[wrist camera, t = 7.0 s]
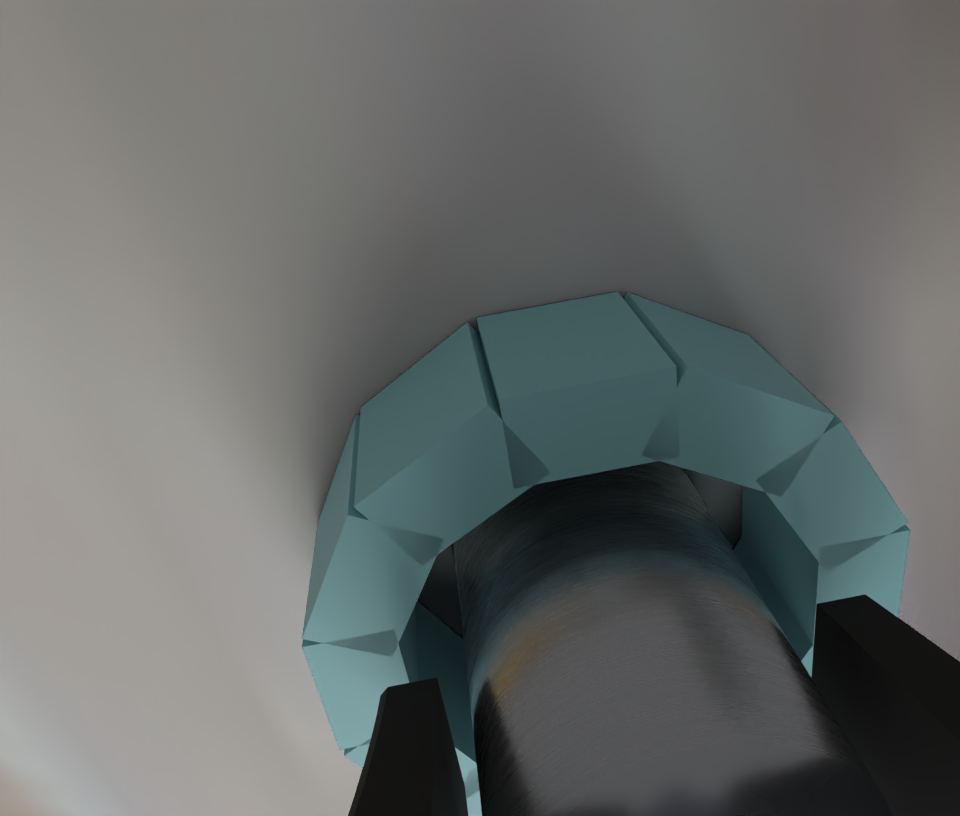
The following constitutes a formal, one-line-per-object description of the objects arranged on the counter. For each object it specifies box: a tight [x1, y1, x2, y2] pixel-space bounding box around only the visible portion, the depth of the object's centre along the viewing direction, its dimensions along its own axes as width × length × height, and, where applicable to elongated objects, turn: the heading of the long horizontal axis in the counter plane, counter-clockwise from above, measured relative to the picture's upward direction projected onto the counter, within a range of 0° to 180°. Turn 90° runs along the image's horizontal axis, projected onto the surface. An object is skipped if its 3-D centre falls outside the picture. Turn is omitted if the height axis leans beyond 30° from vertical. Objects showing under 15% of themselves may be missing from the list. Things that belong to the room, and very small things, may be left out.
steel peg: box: [453, 461, 892, 816], centre depth 10 cm, size 4×4×6 cm
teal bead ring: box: [302, 292, 910, 816], centre depth 12 cm, size 8×8×2 cm
